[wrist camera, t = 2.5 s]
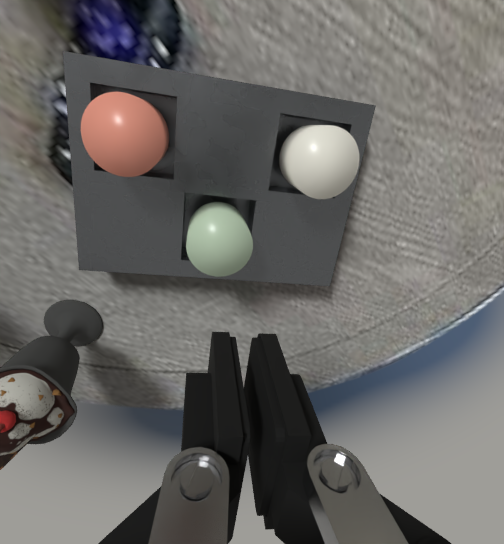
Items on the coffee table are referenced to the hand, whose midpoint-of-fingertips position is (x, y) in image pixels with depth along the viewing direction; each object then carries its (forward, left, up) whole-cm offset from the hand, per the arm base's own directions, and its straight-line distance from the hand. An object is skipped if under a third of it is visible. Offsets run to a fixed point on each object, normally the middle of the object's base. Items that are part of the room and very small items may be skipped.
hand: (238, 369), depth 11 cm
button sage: (0, 0, -16) cm, 16 cm away
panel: (0, -3, -19) cm, 19 cm away
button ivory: (-6, -6, -16) cm, 18 cm away
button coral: (+6, -6, -16) cm, 18 cm away
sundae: (+12, +11, -19) cm, 25 cm away
